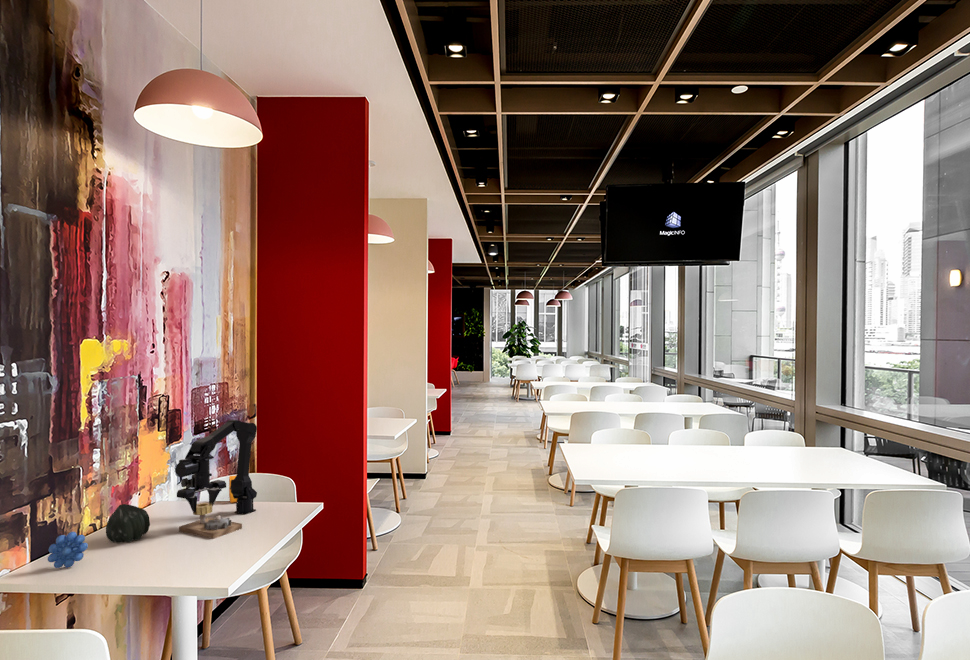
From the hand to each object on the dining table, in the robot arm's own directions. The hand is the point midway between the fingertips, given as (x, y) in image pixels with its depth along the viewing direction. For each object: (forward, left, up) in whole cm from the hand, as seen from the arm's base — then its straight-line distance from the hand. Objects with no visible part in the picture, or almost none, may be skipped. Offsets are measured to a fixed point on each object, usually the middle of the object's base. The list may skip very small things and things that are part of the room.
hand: (202, 510), depth 233 cm
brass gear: (0, 0, -1) cm, 1 cm away
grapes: (+46, -6, -8) cm, 47 cm away
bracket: (-35, -23, -8) cm, 43 cm away
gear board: (0, +5, -7) cm, 9 cm away
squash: (+21, -15, -8) cm, 27 cm away
